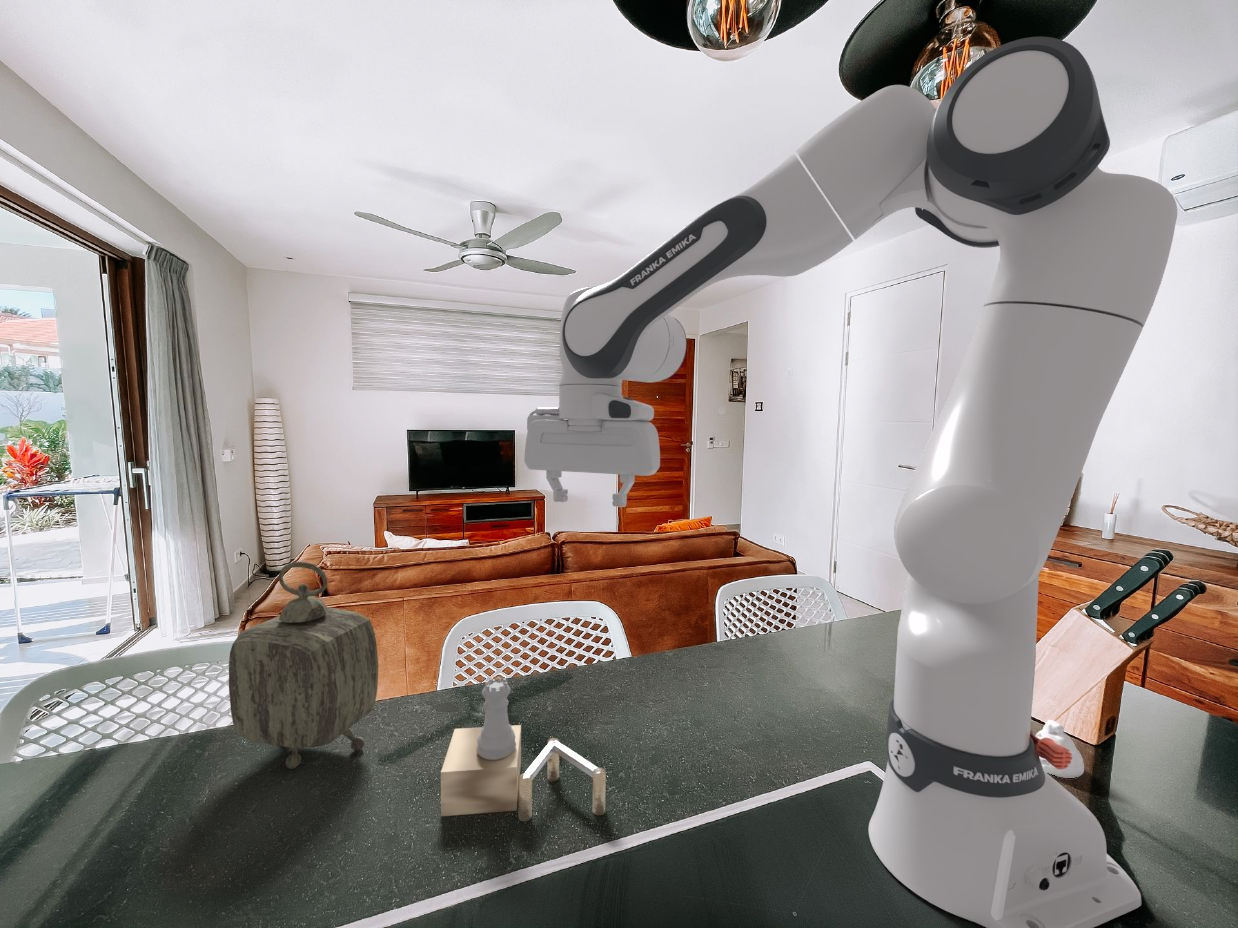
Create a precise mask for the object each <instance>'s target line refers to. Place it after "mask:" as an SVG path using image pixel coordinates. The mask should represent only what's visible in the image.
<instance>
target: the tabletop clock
mask: <svg viewBox="0 0 1238 928" xmlns="http://www.w3.org/2000/svg"><path fill="white" fill-rule="evenodd" d="M293 568H303V569H308V570H312V571H313V572H315V573H317V574H318V575H319V576H320V577H321V579H322V583H323V584H322V586H321V587H320V588H318V589H315V590H309V585H308V584H306V583H301V584H299V585H298V587H297V588H293V587H291V586H289V585H288V584H286V582H285V581H284V575H285V573H286V572H287V571H288V570H290V569H293ZM278 582H279V584H280V586H281V587H282V588H283V590H284V591H286V592H288V593H290V594H292V595H295V596H298V597H296V598H294V599H291V600H290V601H288V602H287V603H286V604H285V606H284V607H283V609H282V611H281V612H280V614H279V615H278V616H275V617H273V618H271V619H268V620H266V621H263V622H260V623H259V624H255V625H254V626H251V627H249V628H247V629H244V630H241V632H240V633H239V634H238V636H237V637H236V638H235V640H234V642H233V643H232V645H231V648H230V651H229V660H228V692H229V693H228V694H229V704H230V705H229V707H230V713H231V720H232V724H233V727H234V730H235V732H236V733H237V735H239V736H241V737H242V738H245V739H246V740H250V741H253V742H257V743H263V744H265V745H271V746H274V747H275V746H276V747H283V748H292V750H291V754H289V755H288V756H287V758H286V759H285V761H284V762H285V764H284V765H285V766H286V768H287V769H289V770H290V769H291V770H292V769H296V768H297V767H298V766H300V764H301V761H302V757H301V755H300V754H299V753H298V751H299V749H307V748H315V747H322V746H326V745H329V744H331V743H332V742H334V741H335V740H336V739H338V738H339V737H341V735H343V736H344V737H346V738H347V739H348V740H350V748H351V750H353V751H355V752H357V751H360V750H362V749H363V748H364V746H365V741H366V740H365V738H363V737H362V736H356V737H355V735H354V734H353V732H352V731H351V730H350V728H351V727H353V726H354V725H355V724H356V723H358V722H359V721H361V720H362V719H363V718H364V717H366V716H367V715H368V714H370V713H371V712H372V711H373V708H374V707H375V703H376V699H377V695H378V685H379V658H378V657H379V656H378V647H377V639H376V634H375V629H374V627H373V623H372V622H371V619H369V617H367V616H365V615H363V614H361V613H358V612H355V611H351V610H347V609H341V608H336V607H331V606H327V605H326V603H325V602H324V601H323V600H322V599H320V598H318V597H315V596H317V595H320V594H322V593H323V592H324V591H325V590H326V588H327V585H328V577H327V575H326V573H325V572H324V570H323V569H322V568H321V567H320V566H317V565H316V564H314V563H311V562H307V561H294V562H293V561H292V562H290V563H289V562H288V563H287V564H285V565H284V566H283V567H282V568H281V569H280V571H279V574H278Z"/></svg>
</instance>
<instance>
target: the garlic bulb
mask: <svg viewBox="0 0 1238 928" xmlns="http://www.w3.org/2000/svg"><path fill="white" fill-rule="evenodd" d="M1064 730H1065V729H1064V726H1063V725H1062V724H1061V723H1059V722H1058V721H1055V720H1053V719H1048V720H1047V721H1046V722H1045V724H1044V725H1043V727H1042V729H1040V730H1039V731H1038V732H1036V734H1035V736H1036V737H1037V738H1039V739H1042V738H1050V739H1052V740H1053V741H1054V742H1055V743H1056V744H1058V745H1061V746H1063V747H1065V748H1066V749H1068V750H1069V752H1070V753H1071V754H1072V756H1071V757H1072V760H1070V761H1071V764H1068V767H1067V768H1065V769H1057V768H1055V767H1054V766H1053V765H1051V764H1050V763H1049V762H1048V761H1047V760H1046V759H1044V758H1041V757H1040V756H1039V758H1040V761H1041V764H1042V767H1043V770H1044V771H1045V772H1046V773H1049V774H1052V775H1055V776H1059V777H1063V778H1075V777H1077V778H1079V777H1081V776H1082V775H1083V774H1084V771H1085V763H1084V758H1083V757H1082V754H1081V752H1080V751H1079V749H1078V748H1077V746H1076V745H1075V743H1074V741H1073V739H1071V738H1070V736H1069V735H1068V734H1067V733H1065V731H1064ZM1049 774H1048V775H1049ZM1052 775H1051V776H1052ZM1055 776H1054V777H1055ZM1059 777H1058V778H1059ZM1063 778H1062V779H1063ZM1075 779H1076V778H1075Z"/></svg>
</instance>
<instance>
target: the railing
mask: <svg viewBox="0 0 1238 928" xmlns="http://www.w3.org/2000/svg"><path fill="white" fill-rule="evenodd" d="M546 742H547V745H545V747H543V749H542V750H541V752H540V753H539V755H538V756H537V757H536V758H535V759H534V760H533V762H532V763H531V764H530V765H529V767H528V768H527V769H526V771H525V772H523V773H520V776H519V790H518V819H519V821H521V822H528V821H530V820H531V819H532V818H533V817H532V816H533V812H532V811H533V810H532V809H533V780H534V779H535V777H536V776H537V775H538V774H539V772H540V771H541V770H542V768H543V767H544V765H546V763H547V767H546V769H547V771H546V773H547V774H546V775H547V780H548V781H549V782H557V780H559V778H560V757H561V758H563V759H565V760H566V762H568V763H570V764H572V765H573V766H575V767H576V768H577V769H579V770H580V771H582V772H584V773H585V774H586V775H588V776H590V777H591V778H592V813H593V814H594V815H595V816H602V815H604V814H605V813H606V788H607V787H606V780H607V779H606V777H607V776H606V774H607V773H606V772H607V771H606V769H605V768H603V767H598V766H596V765H595V764H593V763H592V762H591V761H590V760H587V759H585V758H584V757H583V756H582V755H580V754H578V753H577V752H575V751H574V750H572V749H571V748H569V747H568V746H566V745H565V744H563V743H561V742H560V739H559V738H558V737H557V738H556V737H551V738H549V739H548V740H547V741H546Z"/></svg>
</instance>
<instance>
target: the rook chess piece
mask: <svg viewBox="0 0 1238 928" xmlns="http://www.w3.org/2000/svg"><path fill="white" fill-rule="evenodd" d="M508 684H509V683H508V680H507V679H506V678H502V677H496V681H494V678H493V677H492V678H490V679H488V681H485V683H484V688H483V689H482V690H481V696H482V697H483V698H484V699H485V702H484V703H483V708H484V709H485V711H484V712H485V714H484V723H483V726H482V729H481V732H480V734H479V736H478V739H477V744H478V745H477V748H476V749H477V753H478V754H479V755H480V756H481V757H482V758H483V759H486V760H489V761H497V760H501V759H504V758H506V757H508V756H509V755H510V754H511V753H512V752H513V750H514V749H515V746H516V742H515V733H514V730H513V729H512V727H511V726H512V725H511V724H510V722H509V714H508V705H509V704H510V702H509V700H508V696H509V694H510V693H511V690H512V689H511V687H510V685H508Z"/></svg>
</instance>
